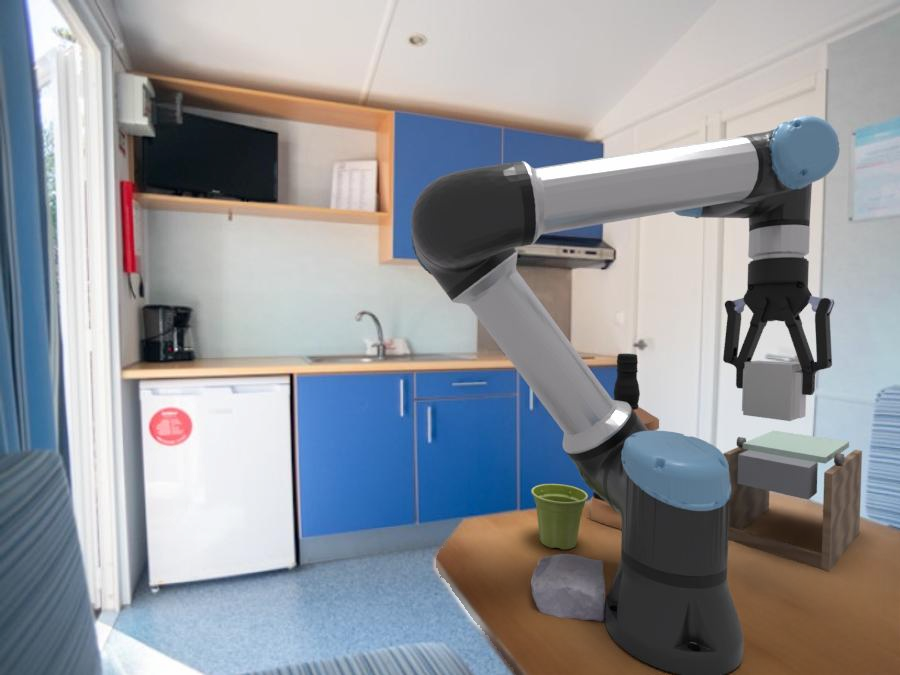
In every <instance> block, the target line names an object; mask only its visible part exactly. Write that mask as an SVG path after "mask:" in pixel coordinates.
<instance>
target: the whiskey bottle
mask: <svg viewBox="0 0 900 675" xmlns="http://www.w3.org/2000/svg"><path fill="white" fill-rule="evenodd" d="M616 357H617V358H616V363H617V365H616V374H617V376H616V380H615V383H614V389H613V400H617V401H624V402H627V403H628V404H629V405H630V406H631V408H632V409H633V410H634V412H635V413H636V414H637V416H638V417H639V418H640V420H641V421H642V422H643V424H644V425H645V426H646V428H647V429H648V430H649V431H653V430H654V431H659V429H660V419H659V418H658V417H656V416H654V415H653V414H651V413H650V412H648V411H647V410H645V409H643V408H642V407H640V405H639V402H640V401H639V400H640V394H641V393H640V392H641V391H640V385H639V382H638V372H639V371H638V363H639V361H638V354H636V353H618V354H617V356H616ZM592 493H593V494H592V497H591V498H590V503H589V517H588V518H590V520H591V521H594V522H597V523H600V524H602V525H606V526H609V527H612V528H615V529H618V530H620V531H622V518H621V516H620V515H619V514H618V513H617V512H616V511H615V510H614V509H613V508H612V507H611V506H610V505H609V504H608V503H607V502H606V501H605V500H603V499H602V498H601V497H600V496H599V495H598V494H596V493H595V492H594V491H592Z"/></svg>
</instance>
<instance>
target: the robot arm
mask: <svg viewBox="0 0 900 675" xmlns="http://www.w3.org/2000/svg"><path fill="white" fill-rule="evenodd" d="M840 150H841V149H840V141H839V137H838V134H837V132H836V130H835V128H834V127H833V126H832V125H831V124H830V123H829V122H828V121H827V120H825V119H823V118H821V117H819V116H814V115H806V116H805V115H804V116H800V117H796V118H794V119H791V120H790V121H784V122H782V123H780V124H779V125H777V126H776V128H775V129H771V130H767V131H763V132H757V133H750V134H746V135H741V136H735V137H729V138H721V139H716V140H710V141H703V142H696V143H695V142H694V143H690V144H684V145H677V146H670V147H664V148H659V149H651V150H646V151H645V150H644V151H638V152H631V153H625V154H619V155H613V156H612V155H611V156H606V157H599V158H593V159H587V160H580V161H579V160H578V161H573V162H569V163H561V164H554V165H548V166H547V165H546V166H542V167H535V168H534V167H532V166H531V165H530V164H529V163H527V161H525V160H521V161H520V160H519V161H513V162H507V163H499V164H495V165H488V166H487V165H486V166H480V167H474V168H469V169H464V170H463V169H462V170H458V171H453V172H452V173H451V172H450V173H448V174H445V175H442V176H440V177H438V178H436V179H434V180H433V181H431V182H430V183H428V184H427V185H426V186H425V187H424V188H423V190H422V191H420V193H419V195H418V196H417V198H416V200H415V202H414V205H413V207H412V211H411V218H410V227H411V246H412V251H413V254H414V256H415V258H416V261H417V262H418V263H419V265H420V266H421V267H422V268H423V270H424V271H426V272H427V273H428V274H429V275H431V276H432V277H433V278H434V280H436V282H437V283H438V285H439V286H440V287H441V288H442V290H443V291H444V293H446V295H447V296H448V298H449V299H450V300H451V302H453V303H457V304H463V305H466V306H468V307H469V309H471V312H473V314H474V315H475V316H476V317H477V319H478V320H479V321H480V323H481V324H482V326H483V327H484V328H485V330H486V331H487V333H489V335H490V336H491V338H492V339H493V340H494V342H495V343H496V344H497V345H498V347H499V349H501V351H502V353H504V355H505V356H506V358H508V360H509V361H510V363H511V364H512V365H513V367H514V368H515V370H516V371H517V372H518V373H519V375H520V376H521V377H522V378H523V380H524V381H525V383H526V384H527V385H528V387H529V388H530V389H531V390H532V392H533V393H534V395H535V396H536V398H537V399H538V400H539V401H540V403H541V404H542V406H543V407H544V408H545V410H547V412H548V413H549V414H550V416H551V417H552V419H553V420H554V422H556V423H557V425H558V427H559V428H560V429H561V431H562V432H563V439H562V444H561V446H562V449H563V450H564V451H565V453H566V455H568V457H569V459H571V461H572V462H573V464H574V465H575V466H576V469H577V471H578V473H579V475H580V478H581V479H582V481H583V483H585V485H586V486H587V487H588V488H589V489H590V490H591V491H592V492H593V491H594V492H595V493H596V494H598V495H599V496H600V497H601V498H602V499H603V500H605V501H606V502H607V503H608V504H609V505H610V506H611V507H612V508H613V509H614V510H615V511H616V512H617V513H618V514H619V515H620V516H621V518H622V530H621V536H620V537H621V540H620V541H621V544H620V546H621V547H620V548H621V549H620V552H621V554H620V563H619V565H618V567H617V569H616V573H615V576H614V577H613V578H614V579H613V581H612V583H611V585H610V588H609V591H608V593H607V596H606V598H605V618H604V622H605V627H606V629H607V632H608V633H609V635H610V637H611V638H612V639H613V641H615V643H616V644H617V645H618V646H620V648H621V649H622V650H624V651H626V652H627V653H628V654H629V655H631V656H633V657H634V658H636V659H638V660H640V661H641V662H644V663H645V664H647V665H649V666H653V667H654V668H656V669H657V668H658V669H660V670H663V671H665V672H669V673H673V674H676V675H677V674H678V675H726V674H728V673H730V672H732V671H734V670H736V669H737V668H738V667H739V666H740V665H741V662H742V661H743V658H744V633H743V629H742V625H741V622H740V619H739V616H738V612H737V610H736V606H735V602H734V600H733V597H732V594H731V591H730V588H729V585H728V557H729V556H728V554H729V553H728V552H729V551H728V550H729V540H728V528H729V499H730V498H729V497H730V495H731V483H730V475H729V465H728V462H727V459H726V457H725V456H724V453H723V452H722V451H721V450H720V449H718V448H717V447H716V446H715V445H713V444H711V443H710V442H707V441H706V440H703V439H701V438H697V437H695V436H689V435H685V434H684V433H679V432H675V431H667V430H656V431H654V430H653V431H649V430H648V429H647V428H646V426H645V425H644V424H643V422H642V421H641V420H640V418H639V417H638V416H637V414H636V413H635V412H634V410H633V409H632V408H631V406H630V405H629V404H628V403H627V402H624V401H617V400H615V399H614V398H613V397H611V396H610V394H609V393H608V391H607V390H606V389H605V387H604V386H603V385H602V383H601V382H600V381H599V379H597V377H596V376H595V374H594V373H593V372H592V370H591V369H590V367H589V366H588V365H587V363H586V362H585V361H584V359H583V358H582V357H581V355H580V354H579V352H578V351H577V350H576V349H575V347H574V346H573V344H572V343H571V341H570V340H569V339H568V338H567V337H566V335H565V334H564V332H563V331H562V330H561V329H560V328H561V327H559V326H558V324H557V323H556V322H555V320H554V319H553V317H551V315H550V313H549V312H548V311H547V309H546V308H545V307H544V305H543V304H542V302H541V301H540V300H539V298H538V297H537V296H536V295H535V292H533V291H532V289H531V288H530V287H529V285H528V284H527V282H526V281H525V279H524V278H523V277H522V275H521V274H520V273H519V272H518V270H517V260H518V252H517V251H516V248H520V247H525V246H531V245H532V246H533V245H534V244H535V243H536V242H537V240H538V239H539V238H540V236H541V235H545V234H552V233H558V232H562V231H563V232H564V231H569V230H575V229H581V228H586V227H592V226H597V225H603V224H609V223H616V222H622V221H626V220H633V219H638V218H639V219H640V218H644V217H649V216H656V215H662V214H667V213H675V214H676V215H678V216H681V217H689V218H695V219H699V218H708V219H709V218H718V219H723V218H724V219H725V218H726V219H728V218H729V219H748V235H749V236H748V250H747V252H748V254H747V256H748V258H749V259H752V260H751V261H749V263H748V264H747V283H746V284H747V290H746V292H745V293H744V296H743V297H741V298H737V299H734V300H730V299H729V300H726V301H725V302H724V307H725V311H726V315H727V317H726V327H725V338H724V345H723V346H724V347H723V357H722V361H723V362H724V363H726V364H730V365H731V366H732V365H733V366H734V367H735V370H736V371H735V372H736V373H735V374H736V376H735V387H736V388H737V389H742V395H741V396H742V398H741V399H742V400H741V412H743V402H744V369H745V362H749V361H752V359H753V356H754V354H755V352H756V349H757V346H758V344H759V341H760V339H761V336H762V334H763V332H764V329H765V327H766V326H767V325H768V322H775V321H777V322H784V323H785V327H786V328H787V330H788V333H789V336H790V338H791V342H792V345H793V348H794V351H795V353H796V357H797V359H798V363H800V366H801V371H802V372H795V397H794V418H797V419H802V418H804V417H806V409H807V408H806V406H807V396H813V395H814V393H815V390H816V388H815V387H816V373H817V372H819V371H821V370H826V369H829V368H831V367H832V366H833V357H832V356H833V355H832V354H833V353H832V336H831V333H832V331H831V317H830V316H831V313H832V311H833V308H834V305H835V300H834V299H832V298H829V297H828V298H827V297H818V296H814V295H812V293H811V291H810V289H809V271H810V270H809V269H810V268H809V264H810V263H809V262H810V261H809V260H808V258H806V257H805V256H807V255H809V253H810V236H811V235H810V234H811V233H810V232H811V231H810V230H811V228H810V227H811V226H810V224H811V223H810V222H811V204H812V189H813V188H812V187H813V183H815V182H817V181H820V180H822V179H824V178H825V177H826V176H828V175H829V174H830V173H831V172H832V170H833V169H834V168H835V166H836V165H837V162H838V160H839V156H840V152H841V151H840ZM808 305H811V310H812V312H815V313H814V326H815V346H816V361H815V359H814V357H813V354H812V350H811V348H810V344H809V341H808V339H807V335H806V333H805V330H804V327H803V322H802V320H801V317H800V316H801V315H800V314H801V312H803V311H804V309H805V308H806V307H807V306H808ZM745 306H747V308H748V309H749V310H750V311H751V312H752V317H751V319H750V321H749V327H748V329H747V333H746V336H745V337H744V340H743V343H742V345H741V348H740V351H739V344H740V336H741V335H740V334H741V333H740V332H741V324H742V313H743V312H744V310H745ZM738 353H739V354H738Z"/></svg>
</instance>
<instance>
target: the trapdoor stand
mask: <svg viewBox="0 0 900 675" xmlns="http://www.w3.org/2000/svg"><path fill="white" fill-rule="evenodd" d="M744 442H747V438H746V437H743V436H738V437H737V438H736V447H735V448H733V449H730V450H728V451H726V452H724V453H723V455H724V456H725V457H726V459H727V462H728V465H729V475H730V483H731V495H730V497H729V498H730V499H729V528H728V541H731V542H735V543H738V544H741V545H745V546H747V547H752V548H754V549H757V550H761V551H763V552H767V553H770V554H773V555H776V556H780V557H783V558H787V559H790V560H792V561H796V562H799V563H802V564H806V565H807V566H808V565H809V566H812V567H815V568H818V569H822V570H825V571H828V572H831V570H832V569H833V567H834V566H835V565H836V563H837V562H838V561H839V559H840V558H842V557H841V556H842V555H843V554H844V553H845V551H847V549H848V548H849V546H850V545H851V544H852V543H853V541H854V540H855V539H856V538H857V536H858V535H859V533H860V528H861V527H860V524H861V522H860V521H861V497H862V496H861V494H862V492H861V490H862V488H861V487H862V464H863V461H862V459H863V450H861V449H860V450H859V449H854V450H852V451H851V452H849V453H848V454H847V455H845V454H844V453H835V455H834V458H833V463H834V465H832V466H831V467H830V468H828V469H827V470H826V471H824V473H823V499H822V500H823V503H822V504H823V506H822V536H821V539H822V540H821V552H819V551H815V550H811V549H808V548H804V547H801V546H798V545H794V544H790V543H787V542H784V541H780V540H778V539H777V540H776V539H774V538H770V537H766V536H764V535H760V534H757V533H753V532H751V531H747V530H744V528H745V527H747V526H748V525H750V524H751V523H753V522H754V521H755V520H756V519H757V518H759V517H761V516H762V515H763V514H764V513H765V514H766V512H767V511H769V510H770V491H768V490H763V489H759V488H755V487H750V486H746V485H742V484H738V455H739V454H741V453H743V452H745V451H747V449H743V443H744Z"/></svg>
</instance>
